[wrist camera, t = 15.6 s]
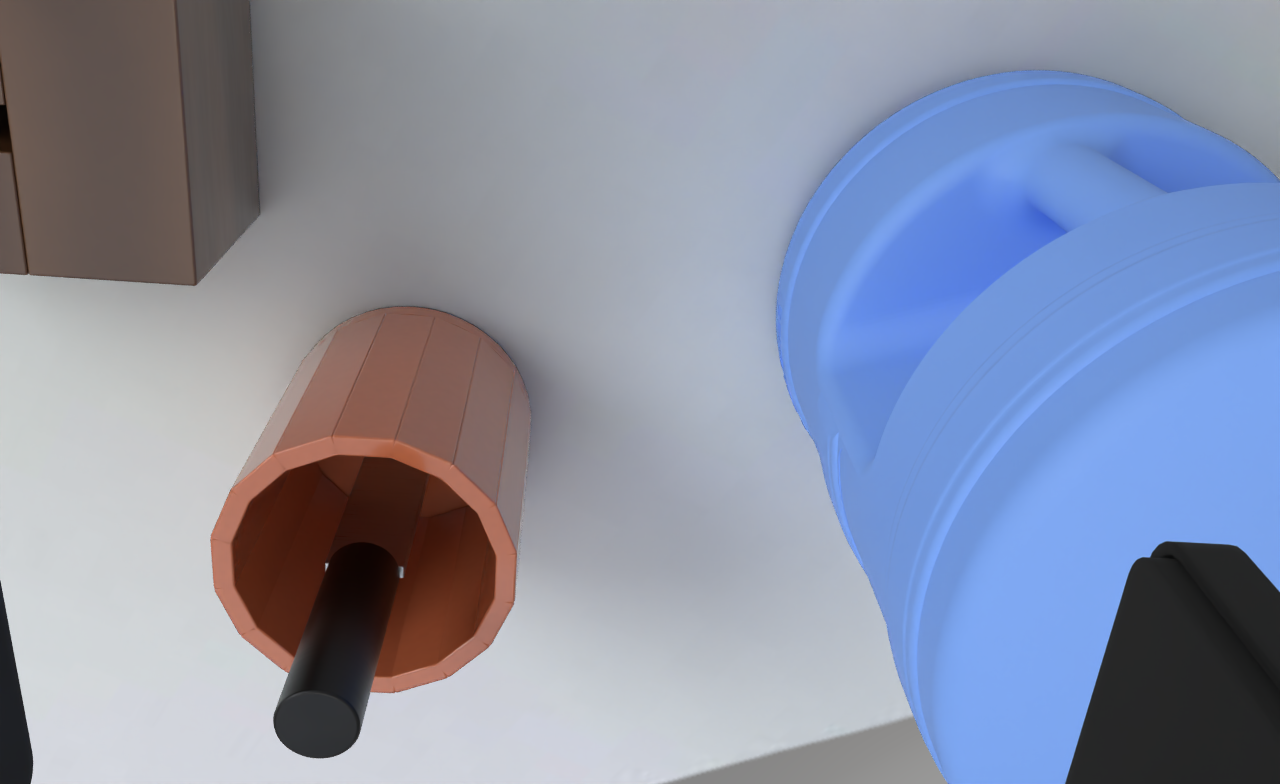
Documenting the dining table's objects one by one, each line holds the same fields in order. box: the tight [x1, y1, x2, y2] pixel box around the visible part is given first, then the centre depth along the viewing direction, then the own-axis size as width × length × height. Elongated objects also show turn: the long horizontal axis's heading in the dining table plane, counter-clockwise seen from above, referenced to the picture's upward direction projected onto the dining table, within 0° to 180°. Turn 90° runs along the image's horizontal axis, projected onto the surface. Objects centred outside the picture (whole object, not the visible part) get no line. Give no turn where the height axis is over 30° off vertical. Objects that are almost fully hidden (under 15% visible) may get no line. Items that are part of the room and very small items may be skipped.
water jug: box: [776, 70, 1280, 784], centre depth 28 cm, size 16×16×28 cm
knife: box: [273, 457, 430, 758], centre depth 34 cm, size 2×2×16 cm
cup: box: [210, 307, 531, 693], centre depth 38 cm, size 8×8×10 cm
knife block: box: [0, 0, 260, 286], centre depth 34 cm, size 12×8×7 cm, turn 85°
